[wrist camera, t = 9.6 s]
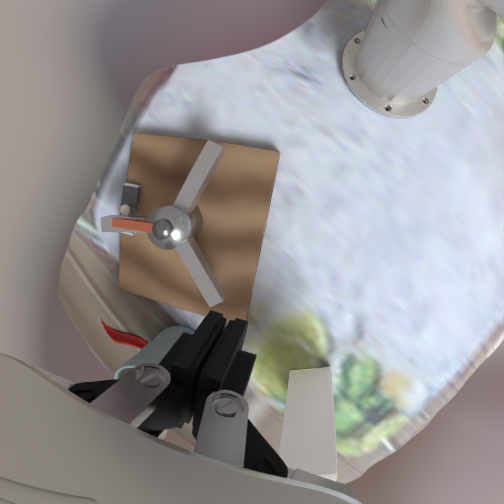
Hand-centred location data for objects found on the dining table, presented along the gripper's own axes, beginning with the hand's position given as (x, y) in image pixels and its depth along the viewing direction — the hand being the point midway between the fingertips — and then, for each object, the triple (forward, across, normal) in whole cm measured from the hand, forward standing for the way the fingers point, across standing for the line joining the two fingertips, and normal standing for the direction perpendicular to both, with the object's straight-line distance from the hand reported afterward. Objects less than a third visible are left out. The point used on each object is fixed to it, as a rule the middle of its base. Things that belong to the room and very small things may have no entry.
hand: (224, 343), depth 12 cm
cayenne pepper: (+24, +20, +24) cm, 39 cm away
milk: (+24, -10, +21) cm, 33 cm away
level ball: (+22, +20, +2) cm, 29 cm away
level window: (+22, +20, +2) cm, 30 cm away
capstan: (+22, +10, +3) cm, 24 cm away
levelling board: (+24, +12, +2) cm, 27 cm away
